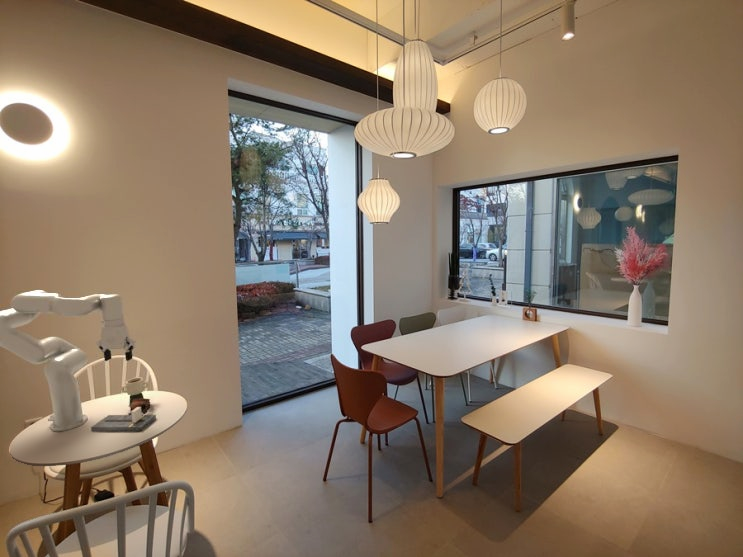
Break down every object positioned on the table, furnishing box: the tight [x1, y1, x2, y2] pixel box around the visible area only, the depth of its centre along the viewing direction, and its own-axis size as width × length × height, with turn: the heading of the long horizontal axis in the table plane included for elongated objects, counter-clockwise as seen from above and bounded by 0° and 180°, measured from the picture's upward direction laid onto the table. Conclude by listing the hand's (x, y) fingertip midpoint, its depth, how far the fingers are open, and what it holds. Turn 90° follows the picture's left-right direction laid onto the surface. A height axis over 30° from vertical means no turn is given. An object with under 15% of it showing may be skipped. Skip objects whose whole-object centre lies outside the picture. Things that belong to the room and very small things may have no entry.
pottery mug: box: [127, 398, 152, 415], centre depth 167 cm, size 12×10×8 cm
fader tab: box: [130, 406, 143, 422], centre depth 156 cm, size 2×4×5 cm, turn 178°
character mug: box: [121, 377, 149, 406], centre depth 174 cm, size 11×7×13 cm, turn 121°
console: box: [90, 414, 157, 432], centre depth 157 cm, size 22×10×2 cm, turn 88°
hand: (118, 359), depth 158 cm, fingers open, 9 cm apart
